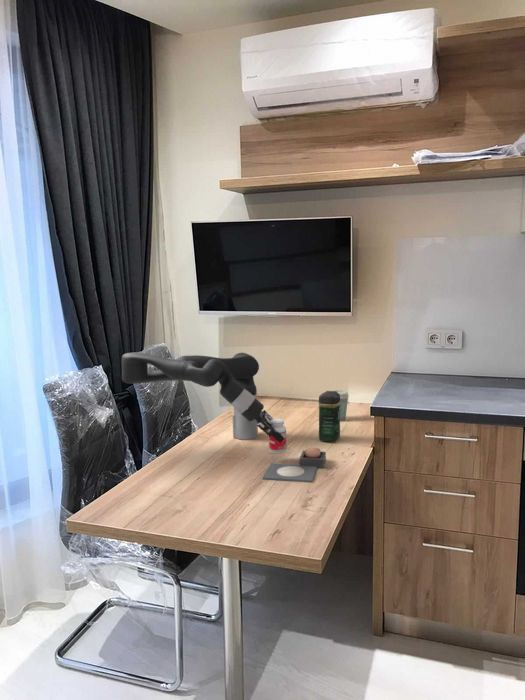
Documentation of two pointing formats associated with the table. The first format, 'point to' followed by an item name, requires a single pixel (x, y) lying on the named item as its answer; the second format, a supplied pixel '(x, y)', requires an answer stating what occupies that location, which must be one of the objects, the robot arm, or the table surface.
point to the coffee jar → (329, 416)
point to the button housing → (313, 460)
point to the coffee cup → (343, 404)
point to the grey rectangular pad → (290, 472)
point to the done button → (312, 452)
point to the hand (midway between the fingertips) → (282, 437)
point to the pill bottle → (273, 443)
